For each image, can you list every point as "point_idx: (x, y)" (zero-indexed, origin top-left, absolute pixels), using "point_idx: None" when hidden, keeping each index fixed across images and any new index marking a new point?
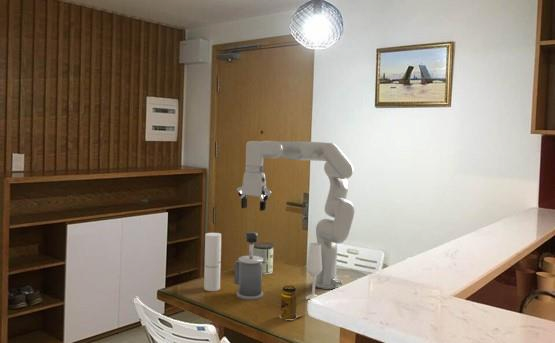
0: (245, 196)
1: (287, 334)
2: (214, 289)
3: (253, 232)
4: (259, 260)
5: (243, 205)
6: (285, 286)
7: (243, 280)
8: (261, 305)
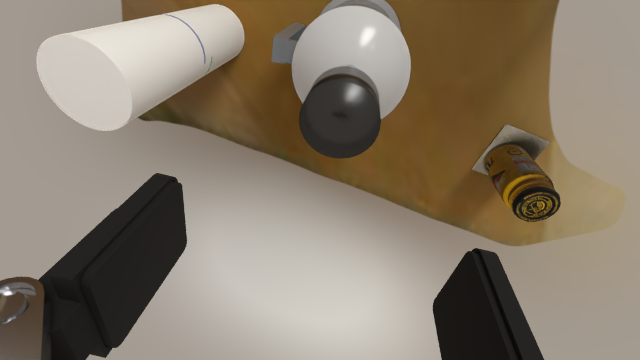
0: (27, 345)
1: (507, 236)
2: (238, 53)
3: (341, 98)
4: (397, 87)
5: (170, 263)
6: (523, 202)
7: None
8: (416, 110)
